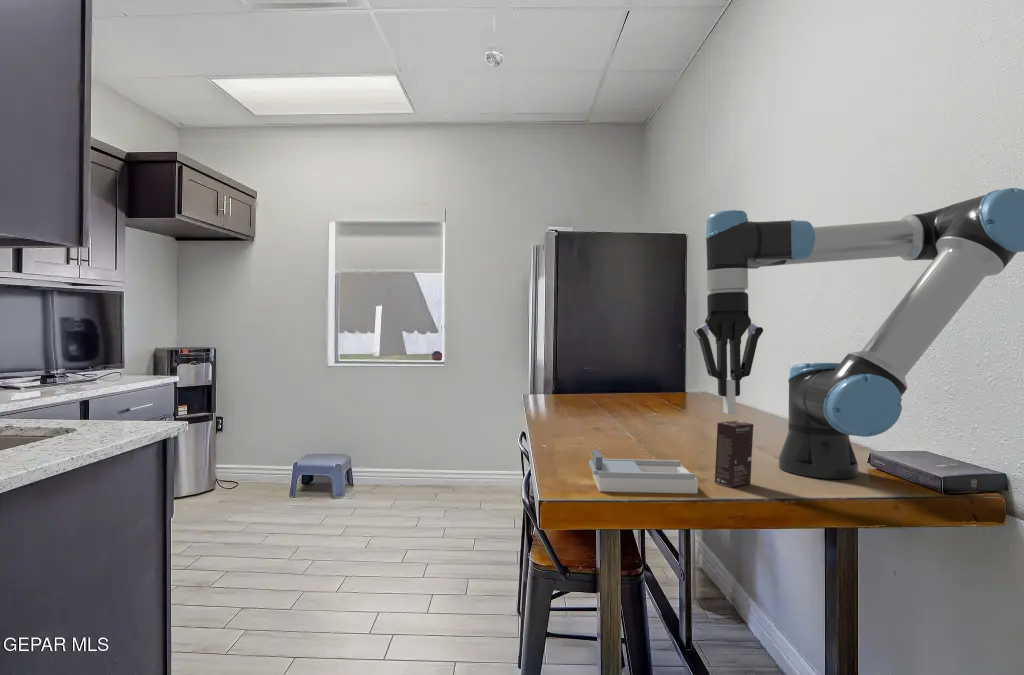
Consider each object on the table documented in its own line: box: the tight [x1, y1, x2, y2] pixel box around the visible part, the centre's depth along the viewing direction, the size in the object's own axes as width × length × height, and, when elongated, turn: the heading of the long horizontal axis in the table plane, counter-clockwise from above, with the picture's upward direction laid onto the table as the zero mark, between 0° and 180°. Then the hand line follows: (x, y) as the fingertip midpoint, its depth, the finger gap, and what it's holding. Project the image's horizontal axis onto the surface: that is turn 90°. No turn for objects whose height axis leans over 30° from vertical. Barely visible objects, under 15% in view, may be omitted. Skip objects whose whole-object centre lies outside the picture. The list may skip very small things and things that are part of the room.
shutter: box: [588, 449, 642, 475], centre depth 115 cm, size 9×9×3 cm
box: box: [714, 420, 754, 488], centre depth 115 cm, size 6×4×12 cm
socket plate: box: [592, 458, 699, 494], centre depth 114 cm, size 18×12×4 cm, turn 88°
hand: (729, 412), depth 115 cm, fingers closed
